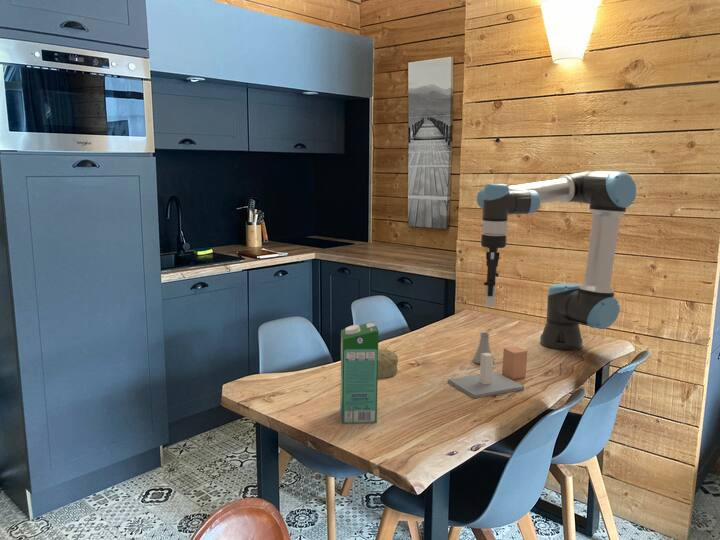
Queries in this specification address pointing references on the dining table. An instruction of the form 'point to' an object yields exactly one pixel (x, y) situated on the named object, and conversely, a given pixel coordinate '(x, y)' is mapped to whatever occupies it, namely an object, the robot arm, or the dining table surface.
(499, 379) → the grey flat base
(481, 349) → the flask
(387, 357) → the decorative object
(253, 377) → the dining table surface
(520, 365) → the peach square-faced block
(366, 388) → the milk carton
